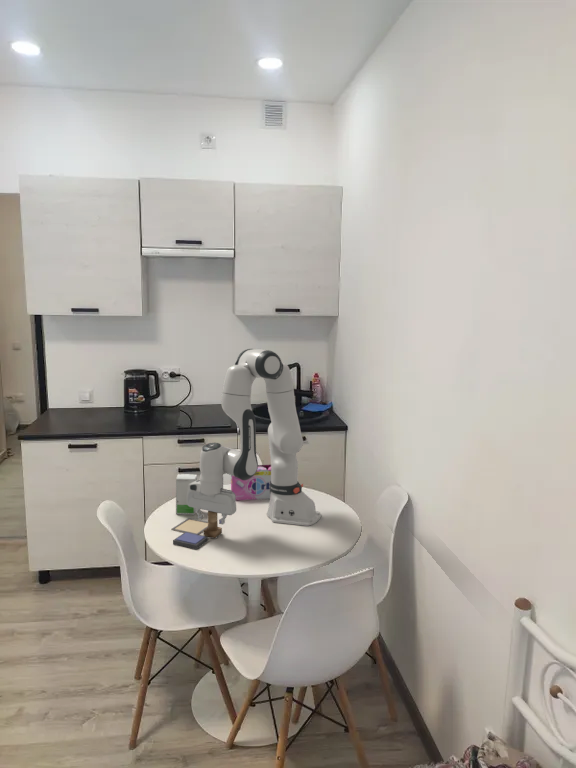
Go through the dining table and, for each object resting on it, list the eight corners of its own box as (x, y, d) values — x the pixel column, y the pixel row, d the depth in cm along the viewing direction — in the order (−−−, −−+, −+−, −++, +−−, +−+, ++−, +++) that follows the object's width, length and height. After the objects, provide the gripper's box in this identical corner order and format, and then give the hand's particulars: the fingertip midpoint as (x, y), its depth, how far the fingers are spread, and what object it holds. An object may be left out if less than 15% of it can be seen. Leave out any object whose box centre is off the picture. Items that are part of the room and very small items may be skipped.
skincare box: (175, 514, 238) (174, 478, 235) (177, 508, 244) (177, 473, 242) (195, 514, 238) (195, 478, 235) (197, 508, 245) (197, 473, 242)
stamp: (221, 533, 220) (221, 510, 218) (215, 538, 215) (214, 514, 214) (210, 531, 222) (210, 508, 220) (203, 536, 217) (203, 512, 216)
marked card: (214, 524, 229) (214, 523, 229) (197, 535, 218) (197, 534, 218) (188, 518, 234) (188, 517, 234) (171, 529, 223) (171, 528, 223)
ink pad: (208, 540, 214) (208, 536, 214) (196, 549, 207) (196, 544, 206) (185, 535, 218) (185, 531, 218) (173, 544, 211) (172, 539, 210)
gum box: (282, 492, 266) (282, 463, 263) (285, 498, 258) (285, 469, 256) (230, 494, 262) (230, 465, 259) (231, 500, 254) (231, 471, 252)
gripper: (239, 488, 214) (239, 523, 216) (193, 479, 223) (193, 513, 225) (231, 493, 208) (230, 529, 211) (184, 484, 217) (184, 519, 219)
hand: (211, 521), depth 218 cm, fingers open, 8 cm apart
